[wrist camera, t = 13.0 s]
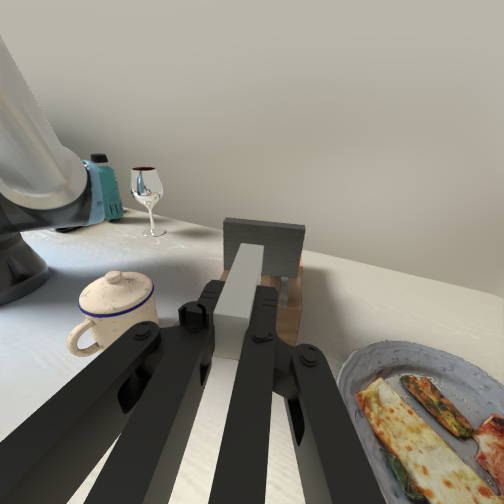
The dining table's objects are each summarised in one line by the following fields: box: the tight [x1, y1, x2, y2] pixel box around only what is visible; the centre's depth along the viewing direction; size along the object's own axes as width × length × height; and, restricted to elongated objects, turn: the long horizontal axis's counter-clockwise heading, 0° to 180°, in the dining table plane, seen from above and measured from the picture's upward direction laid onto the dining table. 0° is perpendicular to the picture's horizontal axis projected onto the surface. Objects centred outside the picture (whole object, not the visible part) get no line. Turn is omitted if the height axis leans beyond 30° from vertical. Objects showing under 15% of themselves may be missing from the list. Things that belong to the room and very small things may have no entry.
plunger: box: [223, 218, 305, 278], centre depth 35 cm, size 10×10×9 cm
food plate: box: [336, 340, 504, 504], centre depth 25 cm, size 25×23×4 cm
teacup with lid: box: [67, 270, 159, 357], centre depth 33 cm, size 12×9×12 cm
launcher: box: [220, 270, 302, 347], centre depth 39 cm, size 14×12×10 cm
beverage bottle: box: [91, 154, 123, 219], centre depth 72 cm, size 6×7×20 cm
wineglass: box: [130, 167, 165, 237], centre depth 66 cm, size 8×8×18 cm
